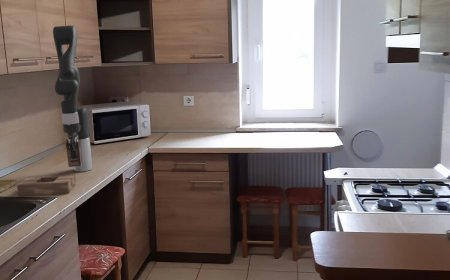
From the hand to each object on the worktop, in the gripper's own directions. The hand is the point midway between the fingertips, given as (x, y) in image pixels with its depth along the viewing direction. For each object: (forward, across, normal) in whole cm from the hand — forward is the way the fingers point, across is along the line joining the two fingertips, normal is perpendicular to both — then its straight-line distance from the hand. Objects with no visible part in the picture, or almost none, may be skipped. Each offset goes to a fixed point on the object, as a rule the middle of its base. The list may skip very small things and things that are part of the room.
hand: (74, 156), depth 231 cm
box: (+5, 0, 0) cm, 5 cm away
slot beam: (+12, +13, -10) cm, 20 cm away
